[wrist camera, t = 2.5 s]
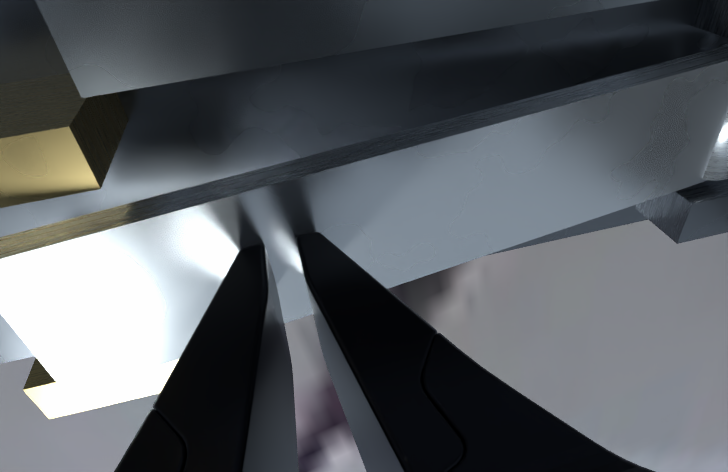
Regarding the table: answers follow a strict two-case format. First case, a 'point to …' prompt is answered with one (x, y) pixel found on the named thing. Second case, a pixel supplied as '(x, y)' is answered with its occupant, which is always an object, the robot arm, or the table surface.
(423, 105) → the cooler plate
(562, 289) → the table surface
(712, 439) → the table surface
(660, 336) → the table surface
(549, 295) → the table surface
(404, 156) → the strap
